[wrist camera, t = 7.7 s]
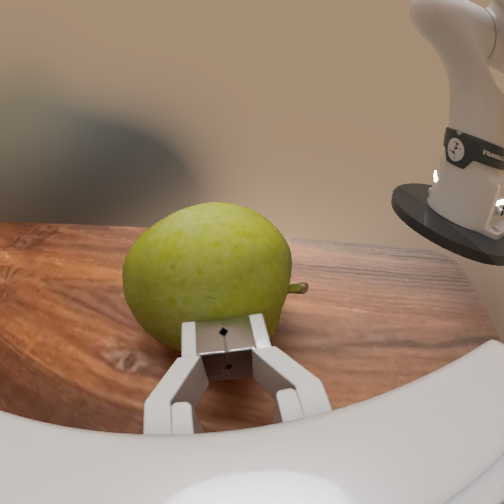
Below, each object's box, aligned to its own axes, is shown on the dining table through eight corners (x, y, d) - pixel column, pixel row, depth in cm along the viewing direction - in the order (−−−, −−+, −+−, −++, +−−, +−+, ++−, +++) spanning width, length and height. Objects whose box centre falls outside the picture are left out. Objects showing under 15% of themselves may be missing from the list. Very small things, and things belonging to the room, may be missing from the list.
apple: (307, 385, 13) (338, 257, 9) (137, 383, 13) (75, 263, 8) (290, 288, 19) (297, 179, 15) (164, 291, 19) (140, 186, 15)
